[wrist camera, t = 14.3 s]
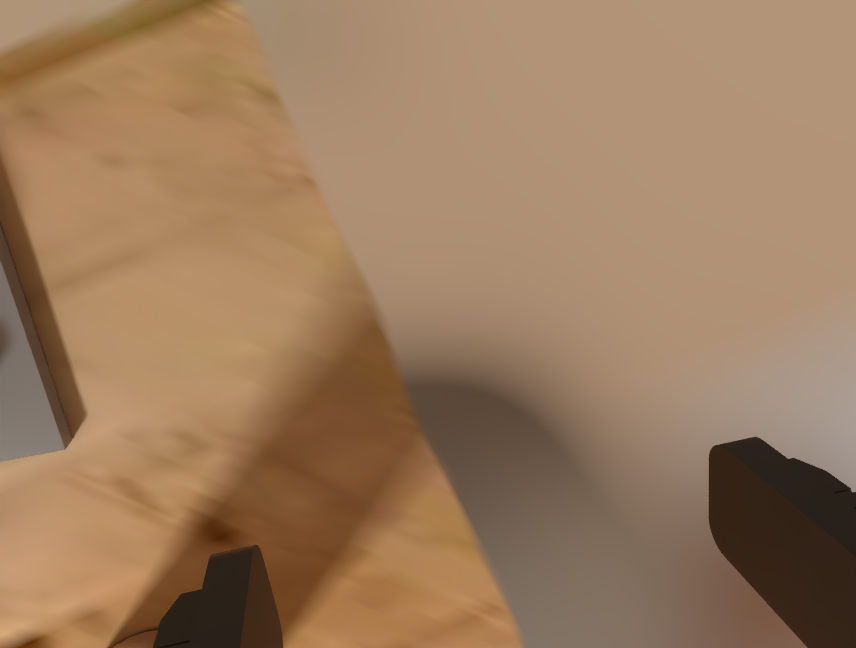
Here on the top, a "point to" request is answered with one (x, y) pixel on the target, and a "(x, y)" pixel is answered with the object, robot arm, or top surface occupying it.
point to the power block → (24, 377)
